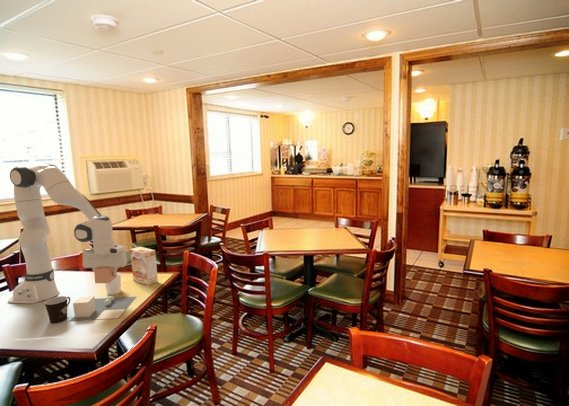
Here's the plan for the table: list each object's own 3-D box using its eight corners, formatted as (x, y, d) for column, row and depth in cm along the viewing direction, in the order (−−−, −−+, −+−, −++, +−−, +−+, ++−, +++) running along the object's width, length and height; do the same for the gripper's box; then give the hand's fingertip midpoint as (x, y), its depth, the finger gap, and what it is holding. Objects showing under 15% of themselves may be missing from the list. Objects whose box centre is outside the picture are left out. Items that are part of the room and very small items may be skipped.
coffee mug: (53, 327, 151) (50, 306, 150) (44, 322, 156) (41, 301, 154) (80, 316, 161) (77, 296, 160) (70, 312, 166) (68, 292, 164)
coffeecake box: (132, 280, 205) (129, 249, 202) (143, 277, 211) (140, 246, 208) (147, 285, 196) (144, 253, 193) (158, 281, 202) (155, 249, 199)
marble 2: (107, 303, 174) (106, 297, 173) (109, 300, 177) (109, 295, 176) (113, 302, 174) (112, 297, 173) (115, 300, 177) (115, 294, 176)
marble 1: (103, 306, 170) (103, 301, 169) (106, 304, 173) (105, 298, 172) (109, 306, 170) (109, 300, 169) (112, 303, 173) (111, 298, 172)
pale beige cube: (74, 317, 159) (72, 303, 158) (81, 310, 166) (80, 297, 165) (89, 316, 160) (87, 302, 159) (96, 310, 166) (94, 296, 165)
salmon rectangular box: (95, 283, 166) (94, 269, 165) (103, 276, 175) (102, 263, 174) (109, 283, 167) (108, 269, 166) (116, 276, 176) (115, 263, 175)
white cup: (124, 289, 191) (123, 272, 190) (116, 295, 183) (114, 278, 182) (111, 289, 192) (109, 272, 190) (102, 295, 184) (100, 277, 183)
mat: (68, 322, 156) (68, 321, 156) (93, 299, 179) (93, 298, 179) (118, 319, 157) (118, 318, 157) (137, 297, 181) (137, 296, 181)
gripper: (78, 250, 165) (81, 278, 167) (122, 249, 166) (124, 277, 168) (85, 247, 171) (87, 273, 173) (127, 246, 173) (129, 272, 175)
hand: (106, 275), depth 171 cm, fingers closed on salmon rectangular box, 7 cm apart
